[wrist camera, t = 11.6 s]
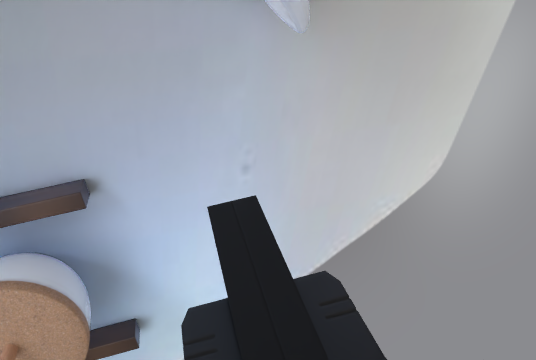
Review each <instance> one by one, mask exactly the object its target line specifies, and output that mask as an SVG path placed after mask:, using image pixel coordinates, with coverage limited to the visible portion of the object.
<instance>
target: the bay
mask: <svg viewBox="0 0 536 360" xmlns="http://www.w3.org/2000/svg"><path fill="white" fill-rule="evenodd" d="M89 195H90V193H89V191H88V188H87V185H86V182H85V180H84V179H83V180H78V181H74V182H69V183H65V184H60V185H55V186H51V187H46V188H42V189H37V190H33V191H28V192H24V193H19V194H15V195H10V196H6V197H1V198H0V228H3V227H7V226H11V225H16V224H20V223H24V222H29V221H33V220H37V219H42V218H46V217H50V216H55V215H59V214H64V213H68V212H72V211H77V210H81V209H85V208H86V207H87V203H88V199H89ZM139 337H140V329H139V326H138V323H137V321H136V319H133V320H129V321H125V322H121V323H118V324H114V325H110V326H106V327H103V328H99V329H95V330H91V331H90V342H89V349H88V353H87V356H86V359H85V360H98V359H101V358H105V357H109V356H112V355H116V354H119V353H123V352H127V351H130V350H134V349H138V348H139Z"/></svg>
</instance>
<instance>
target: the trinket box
mask: <svg viewBox="0 0 536 360" xmlns="http://www.w3.org/2000/svg"><path fill="white" fill-rule="evenodd" d="M90 324H91V307H90V300H89V295H88V292H87V290H86V287H85V285H84V283H83V282H82V280H81V278H80V277H79V276H78V275H77V273H76V272H75V271H74V270H73V269H71V268H70V267H69V266H68V265H67V264H65V263H63V262H62V261H60V260H58V259H56V258H53V257H51V256H47V255H43V254H38V253H17V254H12V255H7V256H3V257H0V360H85V359H86V356H87V353H88V349H89V342H90Z"/></svg>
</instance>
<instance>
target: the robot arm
mask: <svg viewBox="0 0 536 360" xmlns="http://www.w3.org/2000/svg"><path fill="white" fill-rule="evenodd" d="M207 208H208V212H209V217H210V221H211V225H212V230H213V234H214V238H215V243H216V247H217V252H218V256H219V260H220V265H221V269H222V273H223V278H224V282H225V286H226V291H227V295H228V298H226V299H222V300H218V301H215V302H211V303H207V304H203V305H200V306H196V307H192V308H189V309H188V311H187V313H186V316H185V318H184V321H183V323H182V325H181V327H182V339H183V351H184V359H185V360H387V359H386V358H385V357H384V355H383V353H382V351H381V350H380V348H379V346H378V345H377V343H376V341H375V340H374V338H373V336H372V334H371V333H370V331H369V329H368V328H367V326H366V325H365V323H364V321H363V319H362V318H361V316H360V314H359V312H358V311H357V310H356V307H355V306H354V304H353V302H352V300H351V299H349V295H348V294H347V292H346V291H345V289H344V287H343V285H342V284H341V282H340V281H339V280H338V279H336V278H335V277H333V276H332V275H330V274H329V273H327V272H326V271H322V272H318V273H315V274H311V275H307V276H303V277H299V278H296V279H293V278H292V276H291V273H290V271H289V269H288V267H287V265H286V262H285V260H284V258H283V256H282V253H281V251H280V249H279V247H278V244H277V242H276V240H275V238H274V235H273V233H272V231H271V229H270V226H269V224H268V222H267V220H266V217H265V215H264V213H263V211H262V208H261V206H260V204H259V202H258V199H257V197H256V195H255V196H251V197H247V198H242V199H238V200H234V201H230V202H225V203H221V204H217V205H213V206H209V207H207Z"/></svg>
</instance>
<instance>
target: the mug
mask: <svg viewBox="0 0 536 360" xmlns="http://www.w3.org/2000/svg"><path fill="white" fill-rule="evenodd" d="M264 1H265V2H266V3H267V4H268V5H269V7H270V8H271V9H272V10H273V11H274V12H275V13H276V14H277V15H278V16H279V17H280V18H281V19H282V20H283V21H284V22H285V23H286V24H287V25H289V26H290V27H291V28H292V29H294V30H295V31H296V32H298V33H303V32H305V31H306V30H307V28H308V26H309V22H310V4H309V0H264Z"/></svg>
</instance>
